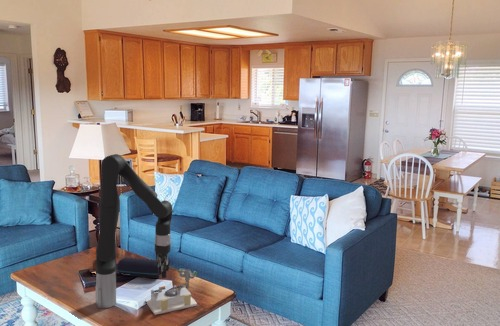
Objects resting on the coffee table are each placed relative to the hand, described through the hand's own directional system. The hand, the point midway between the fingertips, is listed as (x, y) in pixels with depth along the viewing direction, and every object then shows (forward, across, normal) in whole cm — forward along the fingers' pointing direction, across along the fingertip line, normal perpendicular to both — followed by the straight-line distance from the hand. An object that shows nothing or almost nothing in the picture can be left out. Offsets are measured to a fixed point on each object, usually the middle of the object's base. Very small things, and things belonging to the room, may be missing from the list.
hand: (162, 275), depth 218 cm
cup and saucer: (+18, -56, -18) cm, 62 cm away
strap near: (+9, -3, 0) cm, 10 cm away
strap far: (+9, -3, +12) cm, 16 cm away
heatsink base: (+17, -3, +6) cm, 19 cm away
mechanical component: (+17, -16, +20) cm, 31 cm away
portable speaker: (+18, -41, +2) cm, 45 cm away
